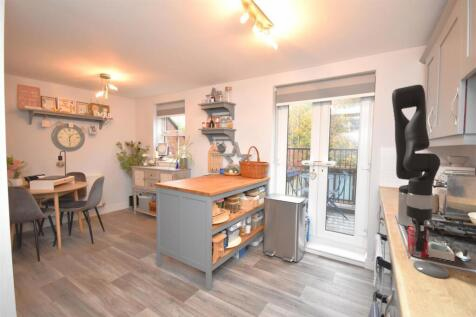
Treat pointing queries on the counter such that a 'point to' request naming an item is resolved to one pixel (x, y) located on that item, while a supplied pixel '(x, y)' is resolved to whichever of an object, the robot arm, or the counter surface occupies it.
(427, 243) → the beverage can
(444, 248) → the dome
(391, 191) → the counter surface
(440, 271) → the coaster
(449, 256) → the base
